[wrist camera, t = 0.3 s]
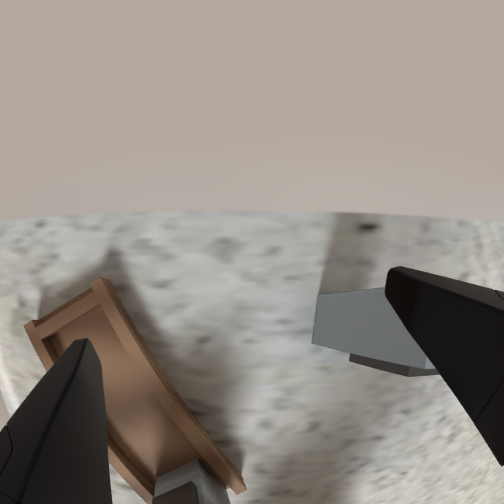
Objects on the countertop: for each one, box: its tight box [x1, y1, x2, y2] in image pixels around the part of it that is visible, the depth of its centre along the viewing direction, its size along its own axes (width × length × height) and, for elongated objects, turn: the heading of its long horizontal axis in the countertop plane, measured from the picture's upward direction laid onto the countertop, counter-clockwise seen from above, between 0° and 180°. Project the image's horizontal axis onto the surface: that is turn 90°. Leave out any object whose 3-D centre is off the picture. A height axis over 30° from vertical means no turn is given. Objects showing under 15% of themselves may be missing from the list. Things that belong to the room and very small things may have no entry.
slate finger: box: [312, 287, 440, 377], centre depth 18 cm, size 5×4×13 cm
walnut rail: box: [24, 277, 247, 504], centre depth 15 cm, size 19×7×11 cm, turn 32°
